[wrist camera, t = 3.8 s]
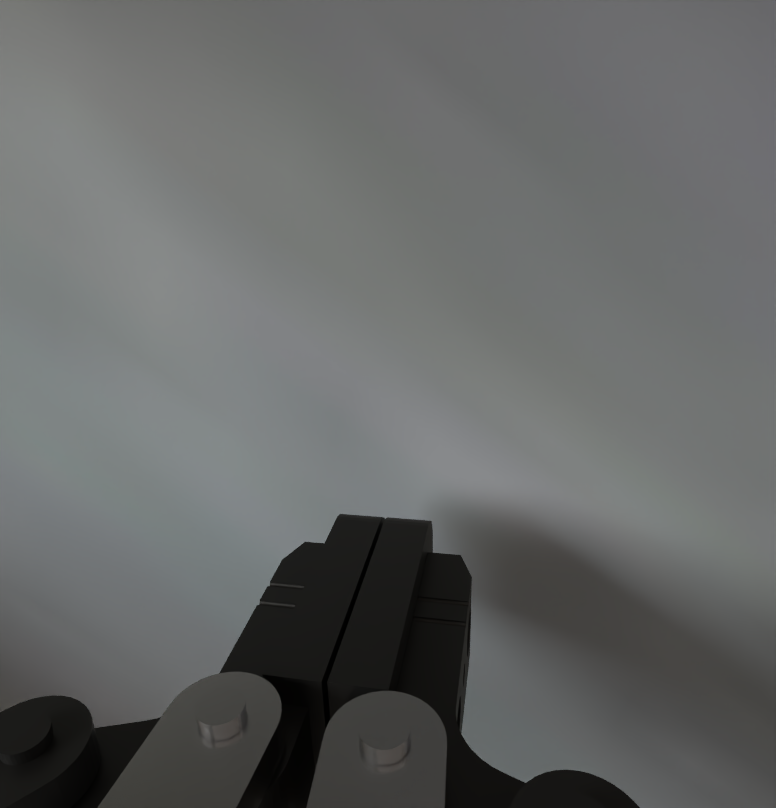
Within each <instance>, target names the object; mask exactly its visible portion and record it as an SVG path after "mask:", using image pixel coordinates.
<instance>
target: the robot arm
mask: <svg viewBox="0 0 776 808" xmlns="http://www.w3.org/2000/svg"><path fill="white" fill-rule="evenodd" d="M471 584H472V577H471V575H470V573H469V571H468V569H467V567H466V565H465V563H464V561H463V559H462V557H461V555H452V554H441V553H433V530H432V522H431V521H425V520H412V519H400V518H386V519H385V518H383V517H372V516H359V515H346V514H340V515H339V516H338V517H337V519H336V521H335V523H334V525H333V527H332V529H331V531H330V533H329V535H328V537H327V540H326V542H325V544H324V543H312V542H304V543H303V544H302V545H301V546H299V547H298V548H297V549H295V550H294V551H293V552H292V553H290V554H289V555H288V556H287V557H285V558H284V559H283V560H282V561H281V563H280V565H279V567H278V569H277V570H276V572H275V574H274V576H273V578H272V579H271V581H270V586H268V587H267V588H266V590H265V592H264V594H263V596H262V598H261V599H260V604H259V605H257V607H256V608H255V610H254V612H253V614H252V616H251V617H250V619H249V621H248V623H247V625H246V626H245V628H244V630H243V632H242V634H241V635H240V637H239V639H238V641H237V643H236V644H235V646H234V648H233V650H232V652H231V653H230V655H229V657H228V659H227V661H226V662H225V664H224V666H223V668H222V670H221V672H220V673H219V674H216V675H212V676H209V677H207V678H204V679H202V680H200V681H198V682H196V683H194V684H192V685H191V686H189V687H188V688H186V689H185V690H184V691H182V692H181V693H180V694H179V695H178V696H177V697H176V698H175V699H174V700H173V702H172V703H171V704H170V705H169V707H168V708H167V710H166V711H165V712H164V714H163V715H162V717H160V718H157V719H152V720H147V721H141V722H134V723H127V724H121V725H114V726H107V727H100V728H94V724H93V721H92V717H91V714H90V712H89V710H88V709H87V707H86V706H85V705H84V704H83V703H81V702H80V701H78V700H76V699H73V698H71V697H66V696H45V697H39V698H35V699H31V700H28V701H25V702H22V703H19V704H17V705H15V706H13V707H10V708H8V709H6V710H4V711H2V712H0V808H639V806H638V805H637V804H636V803H635V802H634V801H633V800H632V799H631V798H630V797H629V796H628V795H626V794H625V793H624V792H623V791H622V790H620V789H619V788H617V787H616V786H615V785H613V784H611V783H610V782H608V781H606V780H604V779H602V778H600V777H597V776H595V775H592V774H589V773H585V772H581V771H574V770H555V771H551V772H546V773H543V774H541V775H538V776H536V777H534V778H533V779H531V780H530V781H528V782H527V783H524V782H522V781H520V780H518V779H516V778H513V777H511V776H509V775H507V774H505V773H503V772H501V771H499V770H497V769H495V768H493V767H492V766H490V765H489V764H487V763H486V762H484V761H483V760H482V759H480V758H479V757H478V756H477V755H476V754H475V753H474V752H473V751H472V750H471V748H470V747H469V746H468V744H467V743H466V742H465V740H464V738H463V736H462V735H461V732H462V723H463V713H464V703H465V695H466V684H467V676H468V667H469V657H470V628H471Z"/></svg>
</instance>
